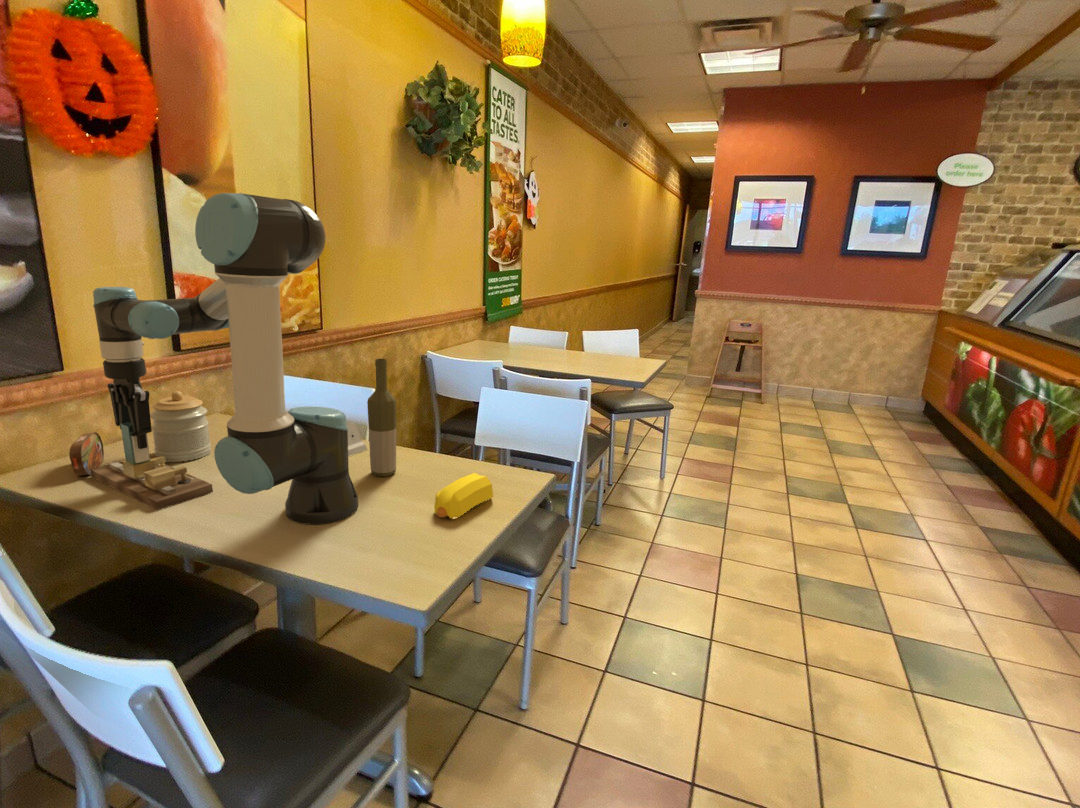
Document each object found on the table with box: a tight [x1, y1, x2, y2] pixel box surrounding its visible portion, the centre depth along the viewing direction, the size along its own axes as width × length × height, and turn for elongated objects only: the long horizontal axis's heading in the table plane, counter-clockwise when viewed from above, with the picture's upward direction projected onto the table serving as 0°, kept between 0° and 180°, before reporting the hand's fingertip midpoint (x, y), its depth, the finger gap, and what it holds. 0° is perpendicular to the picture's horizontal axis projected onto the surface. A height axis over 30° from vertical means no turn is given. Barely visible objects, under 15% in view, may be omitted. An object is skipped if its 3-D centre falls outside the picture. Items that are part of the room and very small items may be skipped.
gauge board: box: [90, 457, 214, 511], centre depth 135 cm, size 30×12×6 cm, turn 59°
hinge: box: [346, 422, 368, 457], centre depth 159 cm, size 17×5×10 cm, turn 151°
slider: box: [120, 422, 167, 479], centre depth 133 cm, size 5×8×13 cm, turn 149°
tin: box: [68, 431, 105, 477], centre depth 142 cm, size 15×3×8 cm, turn 22°
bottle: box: [366, 358, 397, 477], centre depth 145 cm, size 7×7×30 cm
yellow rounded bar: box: [433, 472, 494, 519], centre depth 132 cm, size 18×7×8 cm
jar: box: [150, 390, 212, 463], centre depth 153 cm, size 13×13×18 cm
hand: (137, 458), depth 132 cm, fingers closed on slider, 3 cm apart
